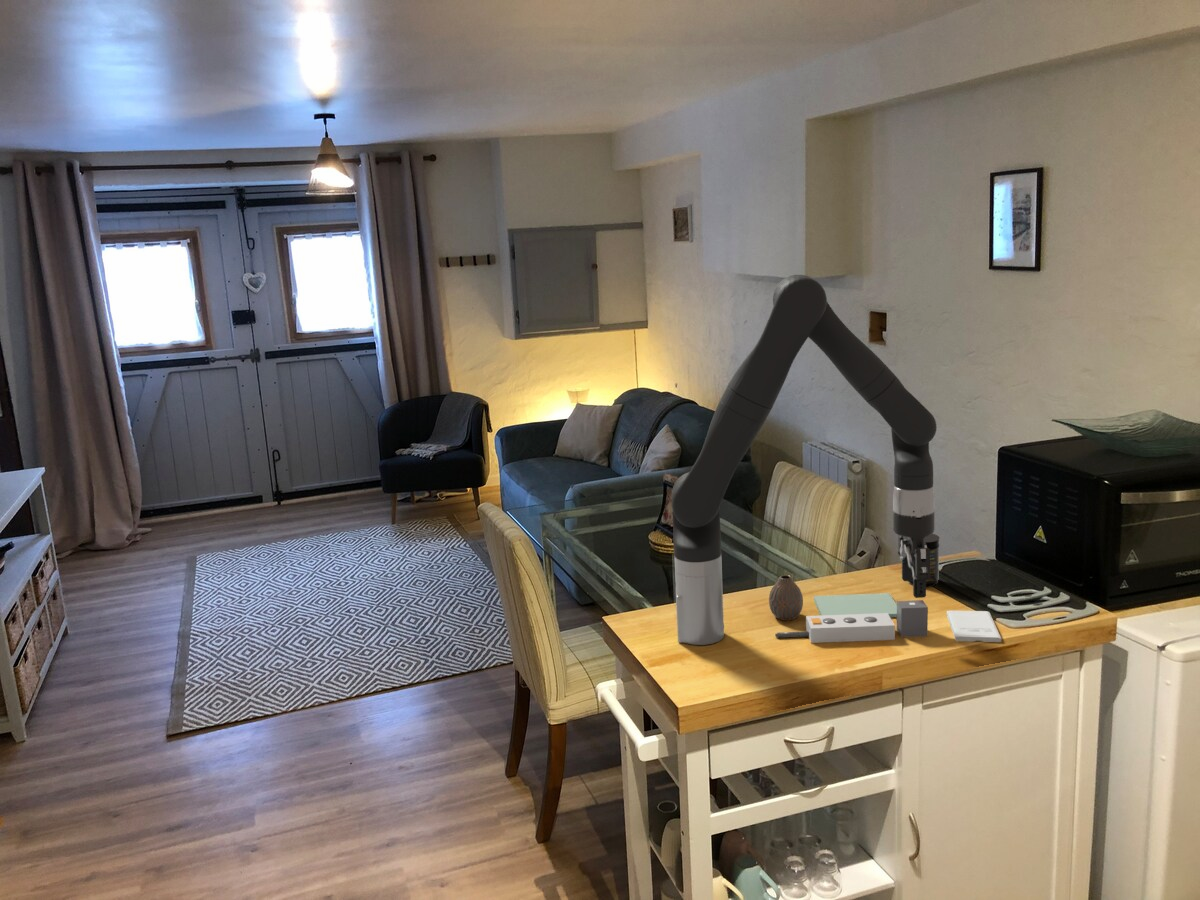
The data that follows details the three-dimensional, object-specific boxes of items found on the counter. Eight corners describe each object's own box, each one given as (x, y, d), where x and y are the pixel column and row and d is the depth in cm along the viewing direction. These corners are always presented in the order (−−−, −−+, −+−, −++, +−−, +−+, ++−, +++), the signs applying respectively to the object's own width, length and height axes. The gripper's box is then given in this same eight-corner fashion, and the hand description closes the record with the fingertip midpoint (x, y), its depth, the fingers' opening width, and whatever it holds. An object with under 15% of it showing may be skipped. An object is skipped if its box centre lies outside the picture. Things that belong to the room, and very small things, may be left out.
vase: (800, 624, 200) (800, 584, 198) (766, 622, 202) (765, 582, 200) (805, 611, 206) (804, 571, 204) (772, 609, 208) (771, 570, 206)
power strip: (777, 644, 192) (776, 628, 191) (773, 631, 198) (773, 615, 197) (894, 639, 190) (895, 623, 190) (887, 627, 196) (887, 611, 195)
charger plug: (901, 637, 192) (901, 607, 190) (896, 629, 195) (896, 600, 194) (927, 636, 191) (927, 606, 190) (922, 628, 195) (922, 599, 193)
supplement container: (945, 584, 216) (946, 538, 213) (920, 590, 214) (920, 544, 211) (925, 574, 222) (925, 530, 220) (900, 580, 220) (900, 535, 217)
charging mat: (822, 620, 201) (822, 616, 201) (813, 599, 212) (813, 596, 212) (902, 617, 200) (902, 613, 200) (889, 596, 211) (889, 593, 211)
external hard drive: (989, 618, 199) (1001, 644, 187) (946, 617, 200) (955, 643, 188) (989, 611, 198) (1001, 636, 186) (946, 610, 200) (955, 635, 188)
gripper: (884, 498, 194) (885, 576, 198) (902, 521, 180) (903, 603, 184) (923, 496, 194) (923, 574, 198) (944, 518, 180) (944, 601, 184)
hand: (913, 588), depth 191 cm, fingers open, 8 cm apart
